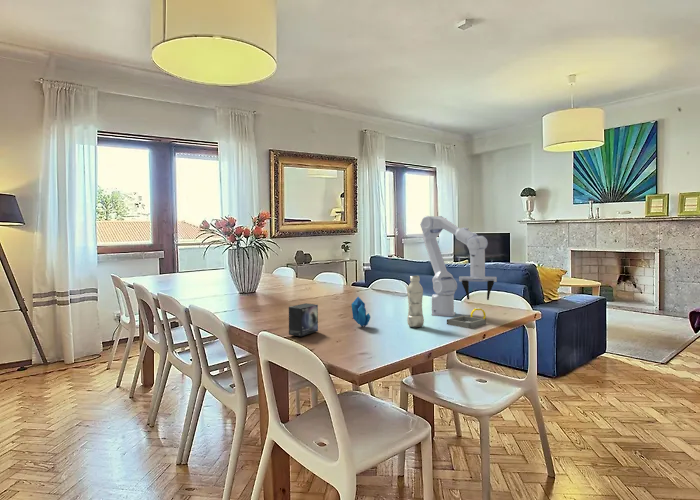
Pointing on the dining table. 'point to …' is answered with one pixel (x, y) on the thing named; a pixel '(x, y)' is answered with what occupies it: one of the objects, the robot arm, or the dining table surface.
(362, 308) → the crystal
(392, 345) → the dining table surface
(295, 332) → the small box
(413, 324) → the plastic bottle
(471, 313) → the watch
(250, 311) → the dining table surface
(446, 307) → the robot arm
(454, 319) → the box
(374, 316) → the dining table surface
